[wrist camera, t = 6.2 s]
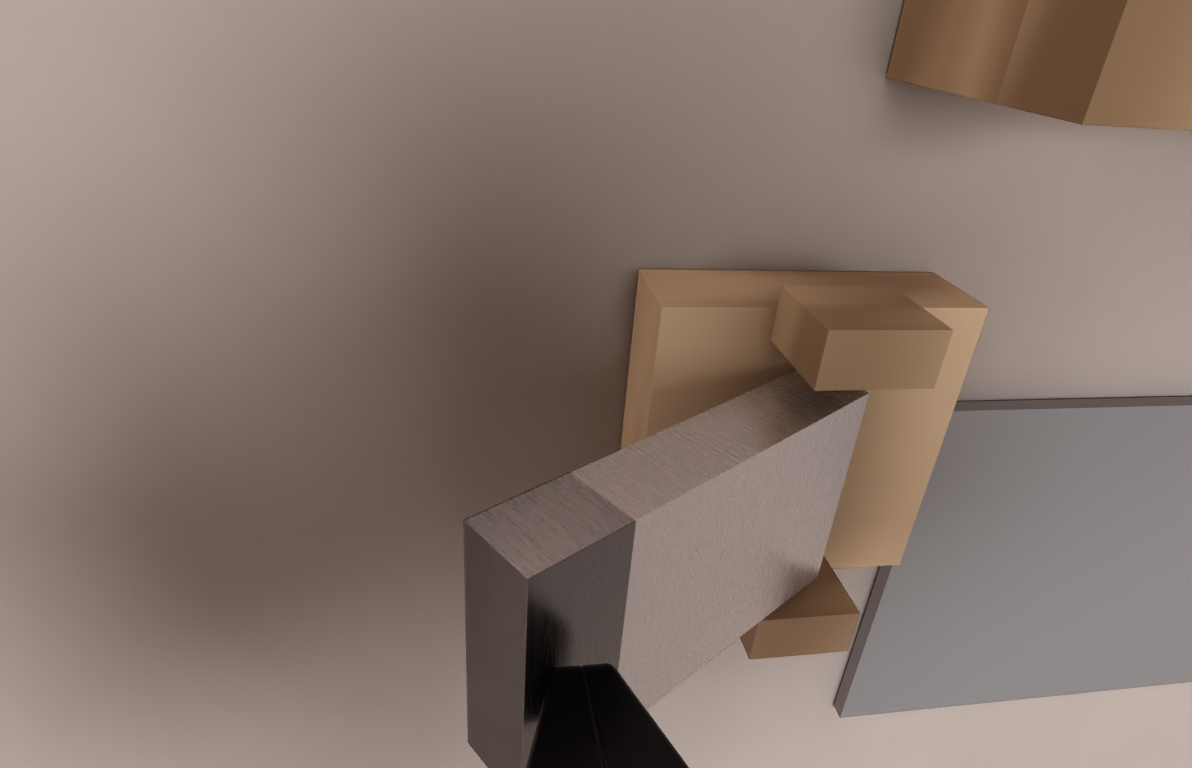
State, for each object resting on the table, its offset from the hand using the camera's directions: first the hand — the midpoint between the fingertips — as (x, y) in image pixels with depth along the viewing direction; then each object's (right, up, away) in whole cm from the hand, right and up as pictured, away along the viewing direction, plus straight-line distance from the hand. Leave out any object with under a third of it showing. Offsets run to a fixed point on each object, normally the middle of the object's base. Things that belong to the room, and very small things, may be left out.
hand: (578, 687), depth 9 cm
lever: (+4, +2, +4) cm, 6 cm away
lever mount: (+4, +3, +6) cm, 8 cm away
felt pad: (+15, -1, +11) cm, 19 cm away
